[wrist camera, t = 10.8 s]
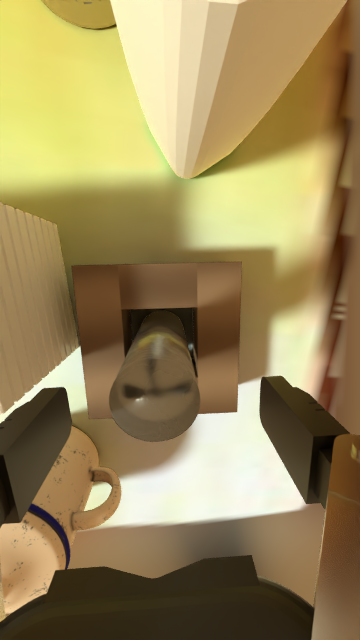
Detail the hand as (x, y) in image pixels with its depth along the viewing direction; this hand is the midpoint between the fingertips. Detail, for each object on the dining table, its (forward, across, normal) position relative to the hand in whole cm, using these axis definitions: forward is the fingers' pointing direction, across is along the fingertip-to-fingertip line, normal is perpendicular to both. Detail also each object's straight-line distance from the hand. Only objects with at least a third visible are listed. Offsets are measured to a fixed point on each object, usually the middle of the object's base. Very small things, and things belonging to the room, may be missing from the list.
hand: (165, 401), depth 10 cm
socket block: (+13, 0, +1) cm, 13 cm away
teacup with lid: (+12, +10, +13) cm, 21 cm away
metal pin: (+13, 0, +1) cm, 13 cm away
